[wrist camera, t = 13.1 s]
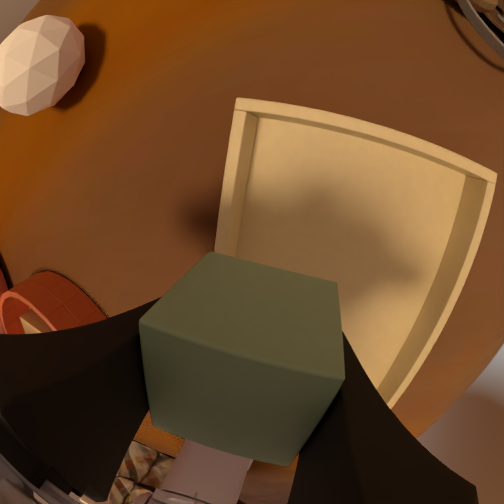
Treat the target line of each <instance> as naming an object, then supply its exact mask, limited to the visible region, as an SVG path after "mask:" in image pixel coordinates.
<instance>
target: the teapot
mask: <svg viewBox="0 0 504 504" xmlns="http://www.w3.org/2000/svg"><path fill="white" fill-rule="evenodd" d="M6 291H8V287H7V284H6V281H5V278H4V275H3V273H2V270H1V268H0V299H1V295H2V294H3V293H5V292H6ZM4 333H5V331H4V328H3V325H2V321H1V316H0V334H4Z"/></svg>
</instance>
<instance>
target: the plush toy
mask: <svg viewBox="0 0 504 504" xmlns="http://www.w3.org/2000/svg"><path fill="white" fill-rule="evenodd" d="M174 460H175V459H173V458H171V457H168V456H166V455H164V454H162V453H160V452H158V451H156V450H153V449H151V448H149V447H147V446H145V445H143V444H140V443H138V442H135V441H132V443H131V445H130V447H129V449H128V451H127V453H126V455H125V457H124V459H123V462H122V464H121V466H120V470H119V473H118V476H116V478H115V480H114V483H113V485H112V488H111V490H110V494H109V504H132V502H133V501H134V500H135V498H136V497H137V496H138V495H140V494H143V493H146V492H150V493H152V494H154V492H155V490H156V488H158V489H160V488H161V486H162V484H163V482H164V480H165V478H166V476H167V474H168V472H169V470H170V468H171V466H172V464H173V462H174Z"/></svg>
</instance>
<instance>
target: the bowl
mask: <svg viewBox="0 0 504 504" xmlns="http://www.w3.org/2000/svg"><path fill="white" fill-rule="evenodd" d="M31 308H32V309H33V310H34V311H35V312H36V313H37V314H38V315H39V316H40V317H41V318H42V319H43V320H44V321H45V322H46V323H47V324H48V325H49V326H50V328H51V329H52V330H53V331H58V330H64V329H70V328H75V327H79V326H83V325H87V324H91V323H95V322H98V321H101V320H105V319H107V318H106V316H105V315H104V314H103V313H102V311H101V310H100V309H99V308H98V307H97V306H96V304H95V303H94V302H93V301H92V300H91V299H90V298H89V297H88V296H87V295H86V294H85V293H84V292H83V291H82V290H81V289H79V288H78V287H77V286H76V285H75V284H73V283H72V282H71V281H69V280H68V279H66V278H64V277H63V276H61V275H59V274H56V273H54V272H49V271H41V272H39V273H36V274H35V275H33V276H31V277H29V278H28V279H26V280H24V281H23V282H21V283H19V284H18V285H16V286H14V287H13V288H11V289H9V290H8V291H6V292H5V293H3V294H2V295H1V299H0V316H1V321H2V325H3V328H4V331H5V333H6V334H25V331H24V328H23V325H22V322H21V319H20V316H21V315H23V314H24V313H25V312H27V311H28V310H30V309H31Z"/></svg>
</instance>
